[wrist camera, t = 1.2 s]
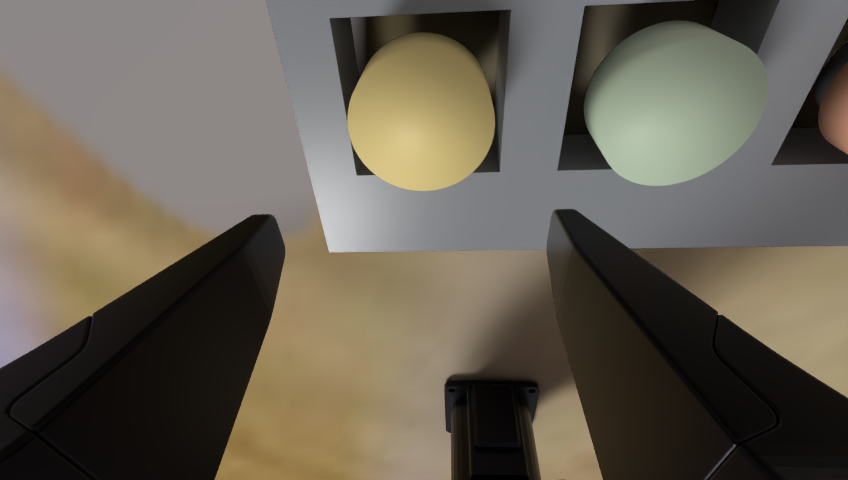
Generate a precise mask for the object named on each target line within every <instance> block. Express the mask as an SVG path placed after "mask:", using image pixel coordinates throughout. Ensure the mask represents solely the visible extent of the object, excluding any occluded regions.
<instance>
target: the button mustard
mask: <svg viewBox="0 0 848 480" xmlns="http://www.w3.org/2000/svg"><path fill="white" fill-rule="evenodd" d="M347 122H348V131H349V135H350V139H351V142H352V145H353V147H354V149H355V151H356V153H357V155H358V156H359V158H360V159H361V161H362V162H363V163H364V164H365V165H366V167H367V168H368V169H369V170H370V171H372V172H373V173H374V174H375V175H376V176H378V177H379V178H381V179H382V180H384V181H386V182H388V183H390V184H392V185H394V186H397V187H400V188H404V189H407V190H414V191H432V190H438V189H442V188H446V187H449V186H451V185H454V184H456V183H458V182H460V181H461V180H463V179H465V178H466V177H467V176H469V175H470V174H471V173H472V172H473V171H474V170H475V169H476V168H477V167H478V166H479V165H480V164H481V163H482V161H483V160H484V158H485V157H486V155H487V153H488V151H489V149H490V146H491V144H492V140H493V137H494V130H495V114H494V108H493V103H492V99H491V94H490V90H489V86H488V82H487V79H486V75H485V73H484V71H483V69H482V67H481V65H480V64H479V62H478V60H477V59H476V58H475V57H474V55H473V54H472V53H471V52H470V51H469V50H468V49H466V48H465V47H464V46H463V45H461V44H460V43H458V42H457V41H455V40H453V39H451V38H449V37H446V36H443V35H440V34H435V33H428V32H418V33H410V34H406V35H403V36H400V37H398V38H395V39H393V40H391V41H390V42H388V43H386V44H385V45H384V46H382V47H381V48H380V49H379V50H378V51H377V52H376V53H375V54H374V55H373V56H372V57H371V59H370V60H369V62H368V63H367V65H366V67H365V69H364V71H363V73H362V75H361V77H360V79H359V81H358V83H357V85H356V88H355V90H354V92H353V94H352V96H351V100H350V103H349V108H348V120H347Z"/></svg>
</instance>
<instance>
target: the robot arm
mask: <svg viewBox="0 0 848 480" xmlns="http://www.w3.org/2000/svg"><path fill="white" fill-rule="evenodd" d="M547 257H548V264H549V271H550V277H551V284H552V290H553V297H554V304H555V310H556V315H557V320H558V324H559V328H560V331H561V335H562V338H563V342H564V345H565V349H566V352H567V356H568V359H569V363H570V366H571V370H572V373H573V376H574V380H575V383H576V387H577V390H578V394H579V397H580V401H581V404H582V408H583V411H584V415H585V418H586V422H587V425H588V429H589V432H590V436H591V439H592V443H593V446H594V450H595V453H596V457H597V460H598V463H599V467H600V470H601V474H602V477H603V480H848V398H847V397H845V396H844V395H842V394H841V393H839V392H837V391H836V390H834V389H832V388H831V387H829V386H828V385H826V384H824V383H823V382H821V381H820V380H818V379H816V378H815V377H813V376H812V375H810V374H809V373H807V372H806V371H804V370H802V369H801V368H799V367H798V366H796V365H795V364H793V363H792V362H790V361H788V360H787V359H785V358H784V357H782V356H781V355H779V354H778V353H776V352H775V351H773V350H772V349H770V348H769V347H767V346H766V345H764V344H763V343H762V342H760V341H759V340H757V339H756V338H754V337H753V336H751V335H750V334H749V333H747V332H746V331H744V330H743V329H741V328H740V327H739V326H737V325H736V324H734V323H733V322H732V321H730V320H729V319H727V318H726V317H725V316H723V315H718V312H717V311H716V310H715V309H713V308H712V307H710V306H709V305H708V304H706V303H705V302H704V301H702V300H701V299H699V298H698V297H697V296H695V295H694V294H692V293H691V292H690V291H688V290H687V289H685V288H684V287H683V286H681V285H680V284H679V283H677V282H676V281H674V280H673V279H672V278H670V277H669V276H667V275H666V274H665V273H663V272H662V271H660V270H659V269H658V268H656V267H655V266H653V265H652V264H651V263H649V262H648V261H647V260H645V259H644V258H642V257H641V256H640V255H638V254H637V253H635V252H634V251H633V250H631V249H630V248H628V247H627V246H626V245H624V244H623V243H622V242H620V241H619V240H617V239H616V238H615V237H613V236H612V235H610V234H609V233H608V232H606V231H605V230H603V229H602V228H601V227H599V226H598V225H596V224H595V223H594V222H592V221H591V220H590V219H588V218H587V217H585V216H584V215H583V214H581V213H580V212H578V211H577V210H575V209H555V210H554V211H553V213H552V215H551V220H550V226H549V232H548V238H547ZM284 258H285V245H284V242H283V239H282V236H281V233H280V230H279V227H278V224H277V221H276V219H275V217H274V216H272V215H270V214H265V215H264V214H262V215H251V216H250V217H248V218H247V219H245V220H243V221H242V222H240V223H238V224H237V225H235V226H234V227H232V228H230V229H229V230H227V231H225V232H224V233H222V234H221V235H219V236H217V237H216V238H214V239H213V240H211V241H209V242H208V243H206V244H204V245H203V246H201V247H200V248H198V249H196V250H195V251H193V252H192V253H190V254H188V255H187V256H185V257H183V258H182V259H180V260H179V261H177V262H175V263H174V264H172V265H171V266H169V267H167V268H166V269H164V270H162V271H161V272H159V273H158V274H156V275H154V276H153V277H151V278H149V279H148V280H146V281H145V282H143V283H141V284H140V285H138V286H137V287H135V288H133V289H132V290H130V291H128V292H127V293H125V294H124V295H122V296H120V297H119V298H117V299H116V300H114V301H112V302H111V303H109V304H107V305H106V306H104V307H103V308H101V309H99V310H98V311H96V312H95V313H93V316H88V317H86V318H85V319H83V320H81V321H80V322H78V323H77V324H75V325H73V326H72V327H70V328H69V329H67V330H65V331H64V332H62V333H60V334H59V335H57V336H55V337H54V338H52V339H50V340H49V341H47V342H45V343H44V344H42V345H40V346H39V347H37V348H35V349H34V350H32V351H30V352H28V353H27V354H25V355H23V356H21V357H19V358H18V359H16V360H14V361H12V362H11V363H9V364H7V365H5V366H4V367H2V368H0V480H215V477H216V474H217V471H218V468H219V465H220V463H221V460H222V457H223V454H224V451H225V448H226V446H227V443H228V440H229V437H230V434H231V431H232V428H233V426H234V423H235V420H236V417H237V414H238V411H239V409H240V406H241V403H242V400H243V397H244V394H245V391H246V389H247V386H248V383H249V380H250V377H251V374H252V372H253V369H254V366H255V363H256V360H257V357H258V354H259V352H260V349H261V346H262V343H263V340H264V337H265V335H266V332H267V329H268V326H269V323H270V320H271V316H272V312H273V308H274V304H275V299H276V295H277V290H278V286H279V281H280V277H281V272H282V268H283V263H284ZM538 395H539V386H538V384H537V383H535V382H487V381H449V382H446V383H445V416H446V431H447V432H449V433H451V480H541V476H540V470H539V464H538V458H537V452H536V446H535V440H534V434H533V427H532V423H533V419H534V414H535V409H536V405H537V400H538Z"/></svg>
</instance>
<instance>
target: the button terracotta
mask: <svg viewBox="0 0 848 480" xmlns="http://www.w3.org/2000/svg"><path fill="white" fill-rule="evenodd" d="M814 97H815V101H816V104H817V105H818V107H819V114H818V124H819V129H820V131H821V134H822V135H823V137H824V138H825V139H826V140H827V141H828V142H829V143H830V144H832V145H833V146H835V147H836V148H838V149H840V150H841V151H843V152H844V153H846V154H848V43H847V44H846V45H844V46H843V47H842V48H841V49H840V50H839V51H838V52H837V53H836V54H835V55H834V56H833V57H832V58H831V59H830V60H829V61H828V62H827V64H826V65H825V67H824V68H823V70H822V71H821V73H820V75H819V77H818V79H817V82H816V85H815V90H814Z"/></svg>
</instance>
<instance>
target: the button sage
mask: <svg viewBox="0 0 848 480" xmlns="http://www.w3.org/2000/svg"><path fill="white" fill-rule="evenodd" d="M767 97H768V77H767V73H766V69H765V67H764V65H763V63H762V61H761V60H760V58H759V57H758V56H757V54H755V53H754V52H753V51H752V50H751V49H750V48H748V47H747V46H745V45H743V44H741V43H739V42H737V41H735V40H733V39H731V38H729V37H727V36H725V35H723V34H721V33H719V32H716V31H714V30H712V29H710V28H708V27H706V26H704V25H701V24H698V23H696V22H690V21H667V22H662V23H658V24H654V25H652V26H649V27H646V28H644V29H642V30H640V31H638V32H636V33H634V34H632V35H631V36H629V37H628V38H626V39H625V40H623V41H622V42H621V43H620V44H618V45H617V46H616V47H615V48H614V49H613V50H612V51H611V52H610V53H609V54H608V55H607V56H606V57H605V58H604V60H603V61H602V62H601V63H600V65H599V66H598V68H597V69H596V71H595V73H594V74H593V76H592V78H591V80H590V83H589V85H588V88H587V91H586V95H585V100H584V118H585V123H586V126H587V129H588V131H589V133H590V135H591V136H592V138H593V140H594V141H595V143H596V144H597V146H598V148H599V149H600V151H601V153H602V154H603V156H604V157H605V159H606V161H607V162H608V164H609V165H610V166H611V168H612V169H613V170H614V171H615V172H616V173H617V174H619V175H620V176H622V177H623V178H625V179H627V180H629V181H631V182H634V183H637V184H641V185H648V186H664V185H672V184H677V183H681V182H685V181H688V180H691V179H693V178H696V177H698V176H700V175H703V174H705V173H707V172H709V171H710V170H712V169H714V168H715V167H717V166H718V165H720V164H721V163H723V162H724V161H726V160H727V159H728V158H729V157H730V156H732V155H733V154H734V153H735V152H736V151H737V150H738V149H739V148H740V147H741V146H742V145H743V144H744V143H745V141H746V140H747V139H748V138H749V137H750V135H751V134H752V132H753V131H754V129H755V128H756V126H757V124H758V122H759V120H760V119H761V116H762V114H763V111H764V109H765V105H766V102H767Z"/></svg>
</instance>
